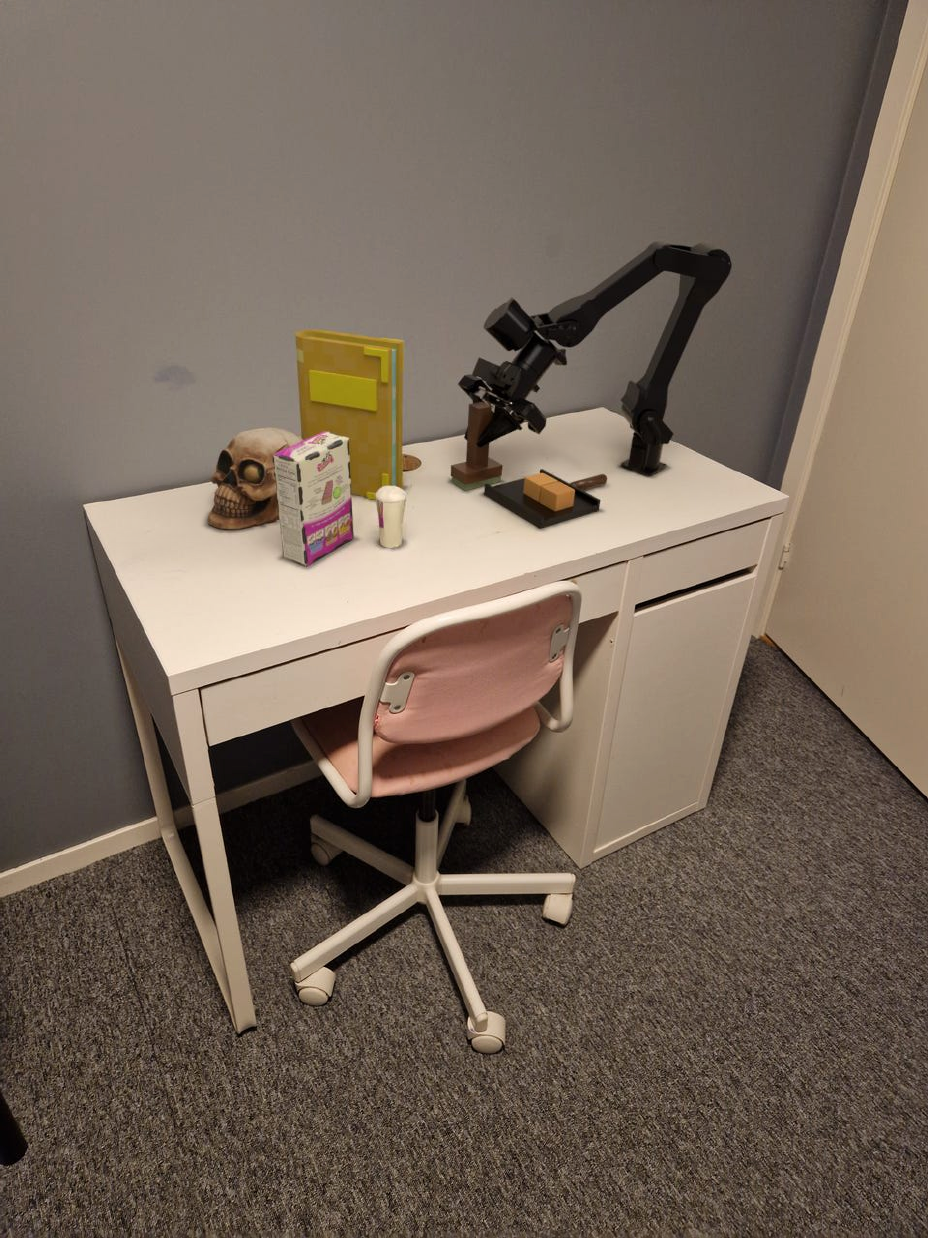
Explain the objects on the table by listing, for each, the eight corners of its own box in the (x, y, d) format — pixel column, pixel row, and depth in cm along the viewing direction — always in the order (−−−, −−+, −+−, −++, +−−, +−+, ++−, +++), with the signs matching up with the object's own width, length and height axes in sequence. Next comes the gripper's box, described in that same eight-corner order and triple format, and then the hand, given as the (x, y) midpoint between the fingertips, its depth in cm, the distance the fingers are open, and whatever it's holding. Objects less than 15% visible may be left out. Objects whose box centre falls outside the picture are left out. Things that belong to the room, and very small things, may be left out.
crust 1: (540, 488, 147) (542, 472, 145) (556, 496, 144) (558, 480, 143) (523, 493, 145) (524, 476, 143) (538, 502, 142) (539, 485, 141)
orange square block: (557, 497, 144) (559, 481, 142) (573, 506, 141) (575, 489, 140) (539, 502, 142) (541, 486, 140) (555, 511, 139) (557, 494, 138)
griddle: (576, 469, 158) (578, 459, 156) (635, 499, 148) (637, 488, 147) (483, 494, 147) (484, 483, 145) (540, 528, 137) (541, 517, 135)
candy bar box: (329, 530, 133) (324, 429, 124) (354, 538, 131) (351, 437, 122) (280, 557, 125) (271, 452, 116) (306, 567, 123) (299, 461, 114)
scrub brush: (486, 472, 154) (490, 397, 147) (501, 481, 151) (507, 405, 144) (450, 482, 150) (453, 404, 143) (465, 491, 147) (469, 412, 140)
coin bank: (202, 528, 131) (197, 443, 125) (225, 492, 146) (221, 415, 140) (305, 534, 132) (305, 449, 126) (317, 498, 148) (317, 421, 142)
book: (403, 486, 148) (404, 340, 134) (387, 502, 142) (387, 351, 129) (315, 470, 152) (307, 326, 138) (297, 484, 147) (287, 336, 133)
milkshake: (406, 552, 128) (407, 491, 122) (372, 548, 129) (371, 486, 123) (414, 539, 132) (415, 479, 126) (380, 534, 132) (380, 474, 127)
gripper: (469, 326, 146) (414, 399, 146) (539, 354, 134) (479, 434, 134) (502, 366, 154) (450, 435, 155) (571, 395, 142) (514, 470, 142)
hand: (471, 442), depth 146 cm, fingers open, 3 cm apart
